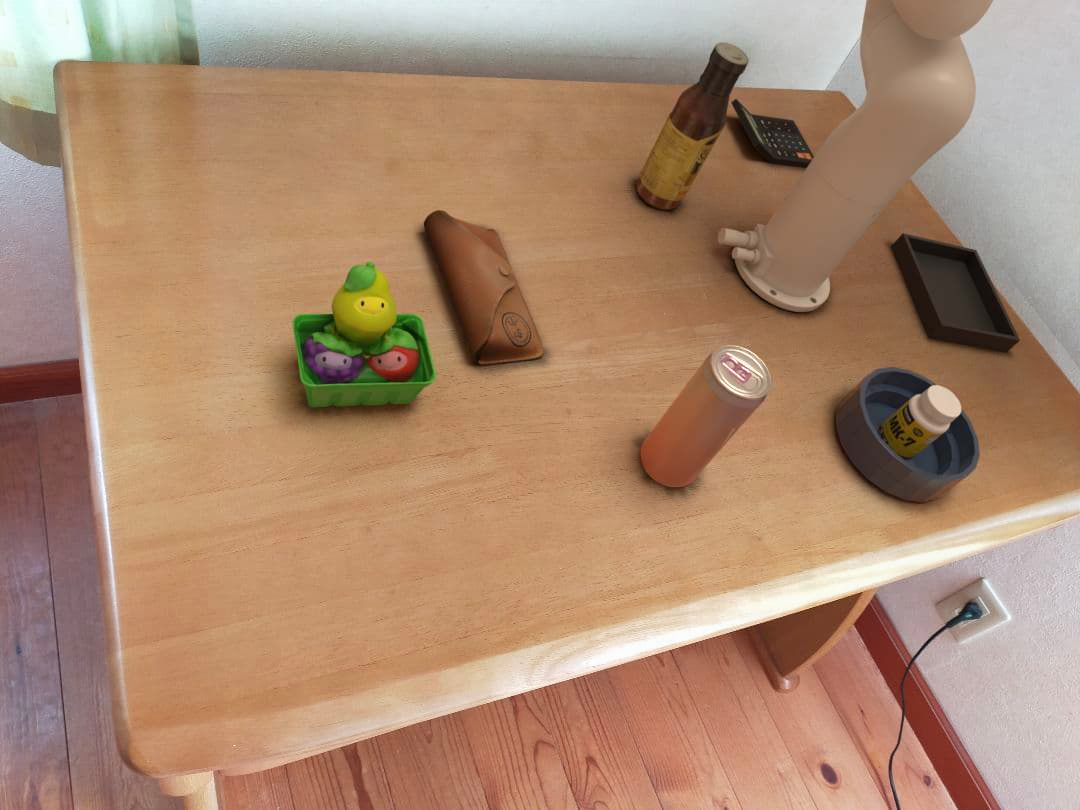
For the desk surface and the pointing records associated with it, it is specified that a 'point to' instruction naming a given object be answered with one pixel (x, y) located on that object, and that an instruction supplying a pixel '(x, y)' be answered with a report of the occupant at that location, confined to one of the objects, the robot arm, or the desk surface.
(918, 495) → the bowl
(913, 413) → the supplement bottle
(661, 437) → the beverage can
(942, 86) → the robot arm
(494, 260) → the sunglasses case
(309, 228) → the desk surface
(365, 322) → the fruit basket
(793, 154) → the calculator
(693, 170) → the sauce bottle
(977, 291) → the tray
